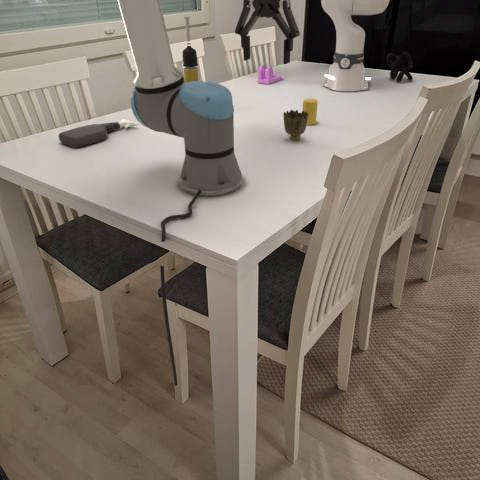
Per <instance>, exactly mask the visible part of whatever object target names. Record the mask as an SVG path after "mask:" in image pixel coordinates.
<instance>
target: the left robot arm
mask: <svg viewBox="0 0 480 480" xmlns="http://www.w3.org/2000/svg"><path fill="white" fill-rule="evenodd" d="M117 2H118V6H119V10H120V14H121V17H122V22H123V24H124V28H125V32H126V35H127V39H128V42H129V46H130V49H131V55H132V58H133V60H134V61H133V62H134V64H135V67H136V71H137V75H136V77H135V78H134V80H133V84H134V88H133V89H132V96H131V97H130V107H131V111H132V114H133V116H134V118H135V119H136V121H137V122H138V123H139V124H140V125H142V126H143V127H145V128H147V129H149V130H151V131H154V132H158V133H164V134H167V135H170V136H175V137H177V138H183V143H184V154H185V155H184V158H183V164H182V168H181V171H180V177H179V178H180V179H179V183H180V184H179V185H180V188H181V189H182V191H184V192H186V193H187V194H190V195H194V196H193V197H192V199H191V201H190V202H189V204H188V205H187V211H188V212H186V213H183V214H174V215H173V214H172V215H169V216H166V217H165V218H164V219H162V220H161V222H160V228H161V239H160V241H161V243H164V242H166V225H165V224H166V223H167V222H169V221H171V220H176V219H185V218H188V217H190V216H192V214H193V209H192V207H193V205H194V203H195V202H196V201H197V199H198V197H221V196H224V195H229V194H232V193H234V192H235V191H237V190H239V189H240V188H241V187H242V185H243V174H242V171H241V168H240V165H239V163H238V160H237V157H236V154H235V129H234V128H235V126H234V123H235V121H234V118H235V117H234V114H235V113H234V112H235V108H234V102H233V96H232V93H231V91H230V89H229V88H227V86H224V85H222V84H219V83H217V82H214V81H204V80H198V81H192V82H188V83H185V81H184V72H183V70H181V69H180V68H178V67H177V66H175V62H174V58H173V53H172V49H171V45H170V40H169V39H170V38H169V35H168V31H167V27H166V22H165V17H164V14H163V9H162V4H161V0H117ZM291 6H292V5H291V0H243V4H242V10H241V12H240V15H239V18H238V21H237V24H236V27H235V28H234V29H235V30H234V33H235V34H236V35H239V36H240V47H241V49H243V50H242V51H243V61H248V60H251V35H249V33H250V32H251V30H252V28H253V27H254V25H256V22H258V20H259V18H266V19H270V18H272V19H273V20H274V21H275V23H276V24H277V26H278V27H279V29H280V31H281V32H282V33H283V35H284V37H285V39H283V64H282V65H287V64H289V63H291V52H293V50H294V39H295V38H298V37H300V35H301V32H300V29H299V27H298V25H297V21H296V18H295V16H294V13H293V11H292V8H291ZM251 8H253V9H254V10H253V12H252V14H251V16H250V18H249V15H250V13H251ZM280 8H281V9H282V13H283V15H284V17H283V15H282V13H281V11H280V10H279V9H280ZM248 18H249V20H248ZM285 20H286V21H285ZM159 267H160V269H159V270H160V284H161V285H160V286H161V297H162V307H163V316H164V322H165V328H166V336H167V343H168V348H169V355H170V361H171V369H172V374H173V375H172V376H173V385H174V387H175V386H176V387H177V386H179V383H178V377H177V368H176V361H175V355H174V347H173V342H172V341H173V340H172V334H171V329H170V321H169V313H168V312H169V311H168V303H167V295H166V279H165V266H164V265H161V264H160V265H159Z"/></svg>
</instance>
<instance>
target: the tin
mask: <svg viewBox="0 0 480 480" xmlns="http://www.w3.org/2000/svg"><path fill="white" fill-rule="evenodd" d="M318 104H319V101H318V99H315V98H304V99H303V100H302V111H304V112H307V113H308V120H307V125H306V126H312V125H313V126H314V125H316V124H317V118H318V117H317V116H318Z"/></svg>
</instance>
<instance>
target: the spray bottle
mask: <svg viewBox="0 0 480 480" xmlns="http://www.w3.org/2000/svg"><path fill="white" fill-rule="evenodd" d="M128 127H139V122H136V121H132V120H128V119H123V118H122V119H121V120H118V121H112V122H105V123H104V122H103V123H93V124H87V125H82V126H78V127H75V128H71V129H68V130H64V131H61V132H60V133H59V134H58V139H59V141H60V143H61V144H64V145H67V146H70V147H72V148H80V147H85V146H89V145H92V144H95V143H99V142H101V141H103V140H105V139H106V138H107V136H108V133H109V132H113V131H116V130H120V129H121V128H124V129H127V128H128Z"/></svg>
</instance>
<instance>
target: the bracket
mask: <svg viewBox="0 0 480 480" xmlns="http://www.w3.org/2000/svg"><path fill="white" fill-rule="evenodd" d="M282 79H283V76H282V75H281V74H274V68H273V66H265V65H259V67H258V69H257V83H258V84H265V85H270V84H273V83H276V82H279V81H281V80H282Z"/></svg>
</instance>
